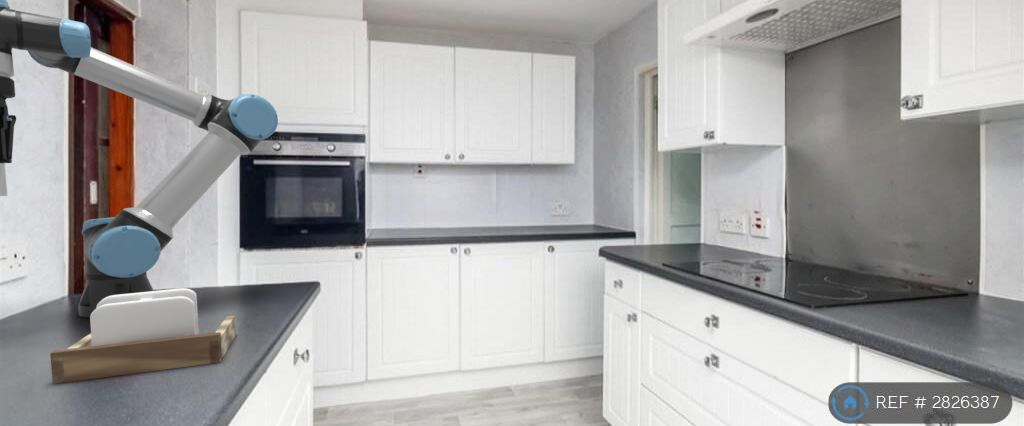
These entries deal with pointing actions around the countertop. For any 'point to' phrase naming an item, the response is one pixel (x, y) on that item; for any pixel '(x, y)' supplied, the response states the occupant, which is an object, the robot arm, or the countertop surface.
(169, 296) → the cable organizer
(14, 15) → the robot arm
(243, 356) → the countertop surface
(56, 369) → the wooden tray
